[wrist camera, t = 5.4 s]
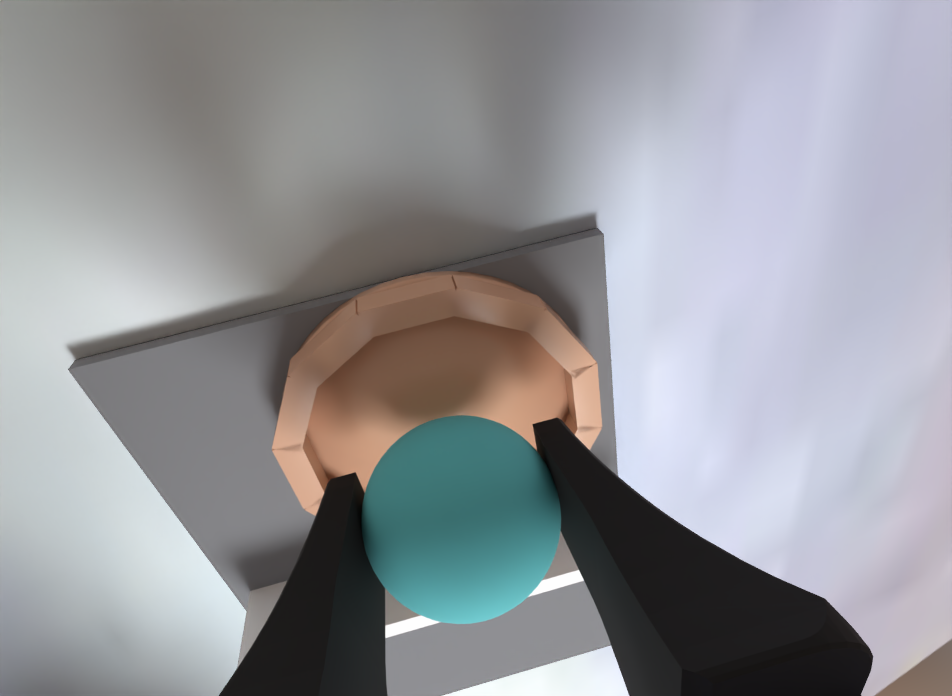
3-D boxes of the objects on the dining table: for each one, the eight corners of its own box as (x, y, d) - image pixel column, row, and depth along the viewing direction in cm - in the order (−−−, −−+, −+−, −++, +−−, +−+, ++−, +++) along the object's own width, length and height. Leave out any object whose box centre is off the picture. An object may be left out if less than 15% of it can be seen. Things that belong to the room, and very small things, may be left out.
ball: (542, 483, 16) (596, 634, 12) (389, 524, 16) (396, 689, 12) (520, 357, 13) (579, 498, 10) (337, 404, 13) (326, 564, 9)
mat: (623, 631, 25) (627, 640, 24) (333, 717, 24) (332, 727, 24) (597, 227, 14) (603, 233, 14) (74, 360, 13) (68, 369, 13)
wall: (605, 503, 19) (636, 565, 17) (257, 601, 18) (245, 678, 16) (604, 491, 19) (635, 553, 17) (250, 591, 18) (237, 668, 16)
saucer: (593, 473, 18) (607, 501, 17) (340, 543, 18) (339, 576, 17) (571, 234, 14) (589, 253, 13) (226, 321, 13) (216, 348, 12)
